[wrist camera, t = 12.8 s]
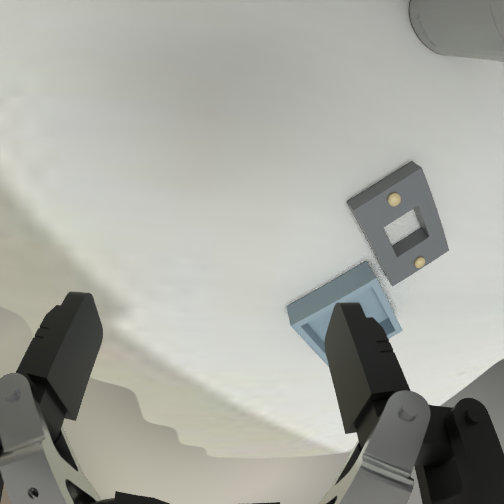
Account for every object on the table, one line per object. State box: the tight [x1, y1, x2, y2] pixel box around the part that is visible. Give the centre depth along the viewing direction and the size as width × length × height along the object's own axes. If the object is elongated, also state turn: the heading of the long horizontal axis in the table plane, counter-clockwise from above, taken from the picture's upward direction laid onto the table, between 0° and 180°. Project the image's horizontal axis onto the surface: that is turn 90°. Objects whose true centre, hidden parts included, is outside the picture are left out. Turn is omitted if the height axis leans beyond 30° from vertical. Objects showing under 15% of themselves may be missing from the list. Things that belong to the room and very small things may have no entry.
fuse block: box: [347, 162, 449, 286], centre depth 38 cm, size 10×14×3 cm
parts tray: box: [287, 261, 402, 366], centre depth 45 cm, size 13×13×4 cm
